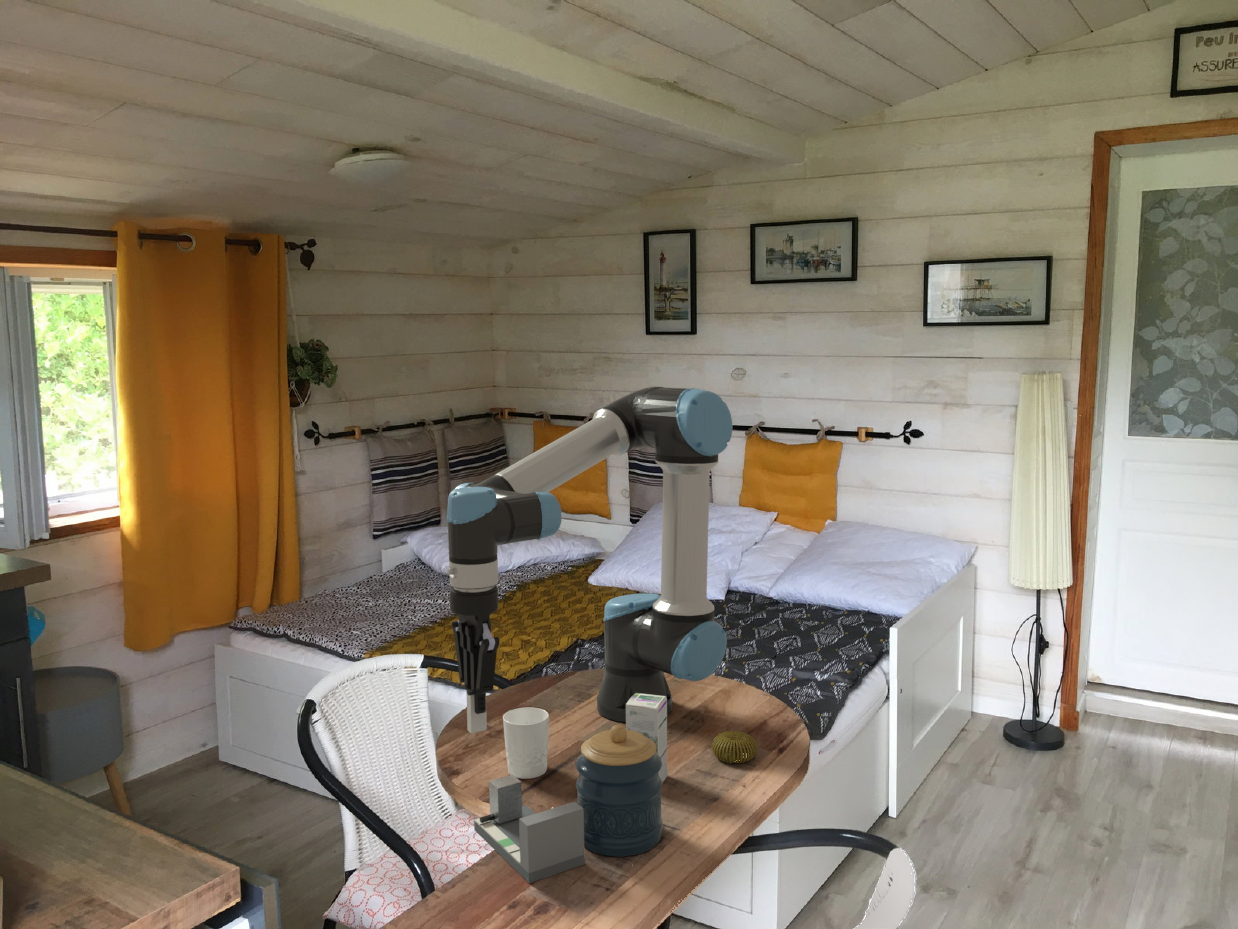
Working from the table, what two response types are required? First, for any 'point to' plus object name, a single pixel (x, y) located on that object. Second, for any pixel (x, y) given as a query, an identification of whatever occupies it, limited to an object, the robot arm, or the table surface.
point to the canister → (620, 792)
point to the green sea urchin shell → (734, 747)
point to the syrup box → (650, 722)
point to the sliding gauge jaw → (504, 800)
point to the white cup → (526, 741)
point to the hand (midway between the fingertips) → (477, 730)
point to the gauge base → (539, 840)
